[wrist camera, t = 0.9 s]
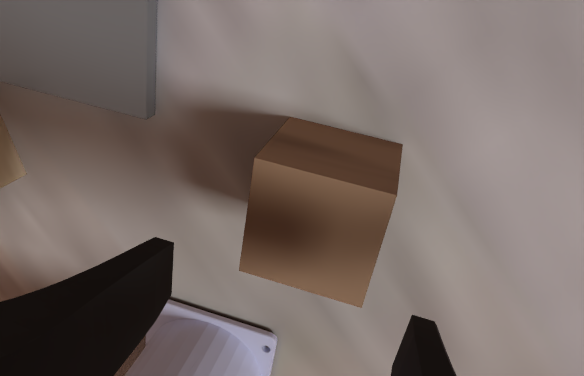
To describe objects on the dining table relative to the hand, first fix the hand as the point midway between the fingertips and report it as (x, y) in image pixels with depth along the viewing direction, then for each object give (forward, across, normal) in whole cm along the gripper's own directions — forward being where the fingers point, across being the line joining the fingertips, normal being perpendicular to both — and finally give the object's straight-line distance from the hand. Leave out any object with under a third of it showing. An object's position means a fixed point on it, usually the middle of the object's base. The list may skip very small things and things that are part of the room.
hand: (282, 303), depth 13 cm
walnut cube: (+9, 0, 0) cm, 9 cm away
